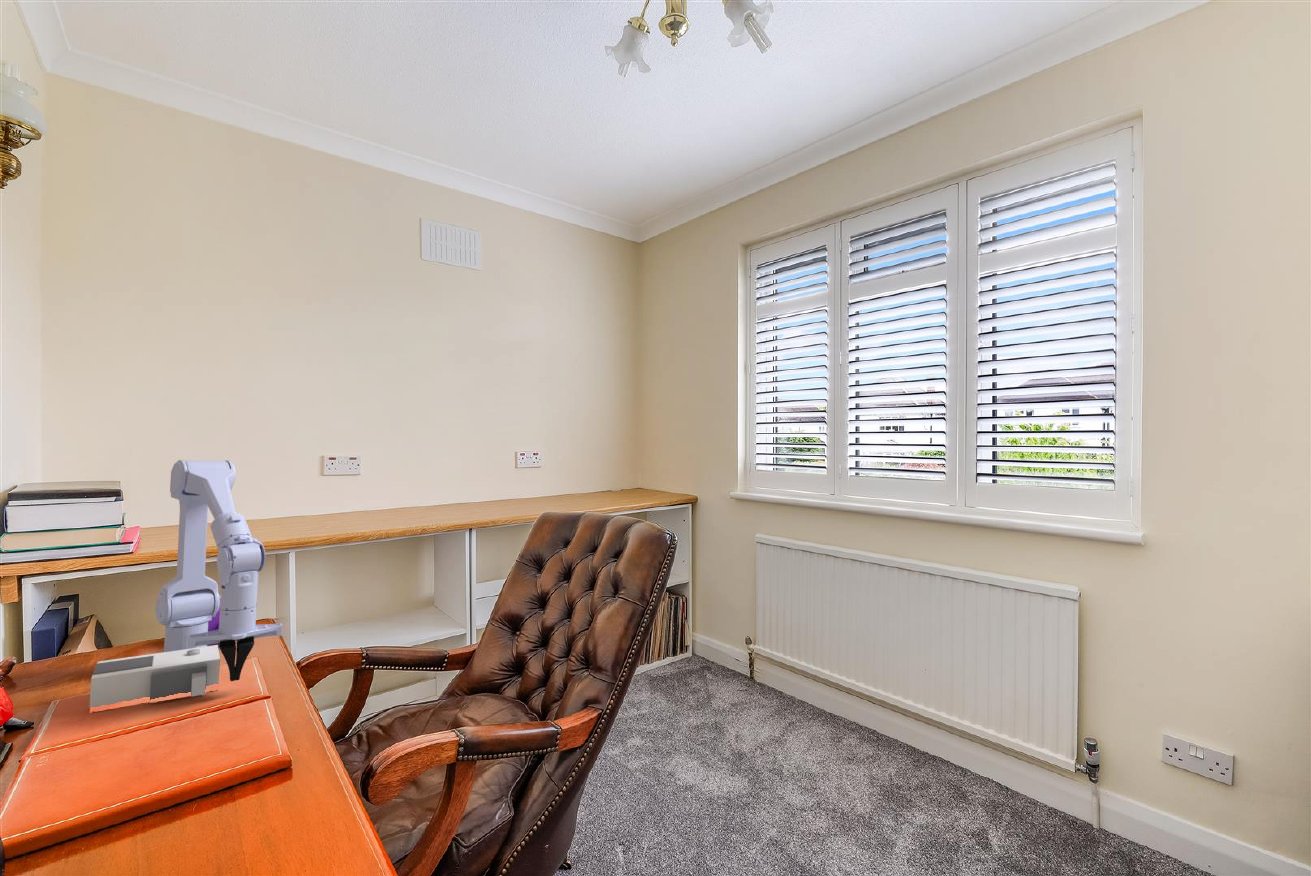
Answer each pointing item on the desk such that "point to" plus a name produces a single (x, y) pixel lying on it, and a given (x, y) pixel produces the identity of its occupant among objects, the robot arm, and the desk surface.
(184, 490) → the robot arm
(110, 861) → the desk surface
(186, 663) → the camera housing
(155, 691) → the side door
